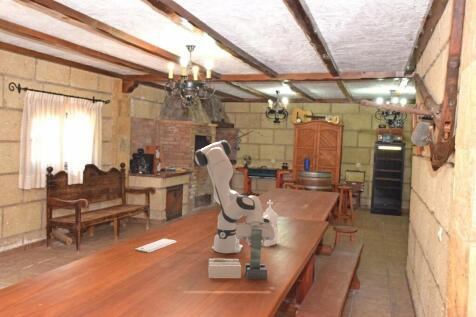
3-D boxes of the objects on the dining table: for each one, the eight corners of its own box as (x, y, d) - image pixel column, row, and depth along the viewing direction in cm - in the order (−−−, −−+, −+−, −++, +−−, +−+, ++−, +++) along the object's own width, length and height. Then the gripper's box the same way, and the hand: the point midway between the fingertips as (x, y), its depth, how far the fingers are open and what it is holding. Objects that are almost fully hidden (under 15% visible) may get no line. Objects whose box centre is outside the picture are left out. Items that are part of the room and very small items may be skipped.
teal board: (249, 266, 211) (251, 228, 210) (259, 267, 211) (261, 228, 210) (250, 268, 209) (252, 229, 208) (259, 268, 209) (262, 229, 208)
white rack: (208, 271, 218) (208, 258, 217) (238, 271, 219) (238, 258, 219) (209, 279, 205) (209, 266, 204) (240, 280, 206) (241, 266, 206)
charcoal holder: (244, 274, 215) (245, 263, 215) (263, 274, 216) (263, 263, 216) (247, 281, 205) (247, 269, 204) (266, 281, 206) (267, 269, 206)
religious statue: (252, 245, 276) (254, 201, 274) (260, 240, 288) (261, 198, 286) (276, 249, 269) (278, 203, 267) (283, 244, 281) (285, 200, 279)
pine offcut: (213, 271, 215) (214, 258, 215) (223, 271, 216) (223, 258, 215) (213, 273, 212) (214, 259, 212) (223, 273, 213) (224, 259, 212)
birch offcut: (224, 271, 216) (224, 260, 215) (233, 271, 216) (234, 260, 216) (224, 273, 213) (225, 261, 212) (234, 273, 213) (234, 261, 213)
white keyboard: (178, 243, 274) (163, 240, 279) (179, 238, 274) (164, 236, 279) (150, 254, 246) (134, 251, 251) (150, 249, 246) (134, 246, 251)
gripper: (235, 219, 215) (236, 242, 206) (274, 220, 217) (276, 243, 207) (234, 225, 219) (235, 248, 210) (272, 226, 221) (274, 249, 212)
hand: (256, 246), depth 209 cm, fingers closed on teal board, 5 cm apart
